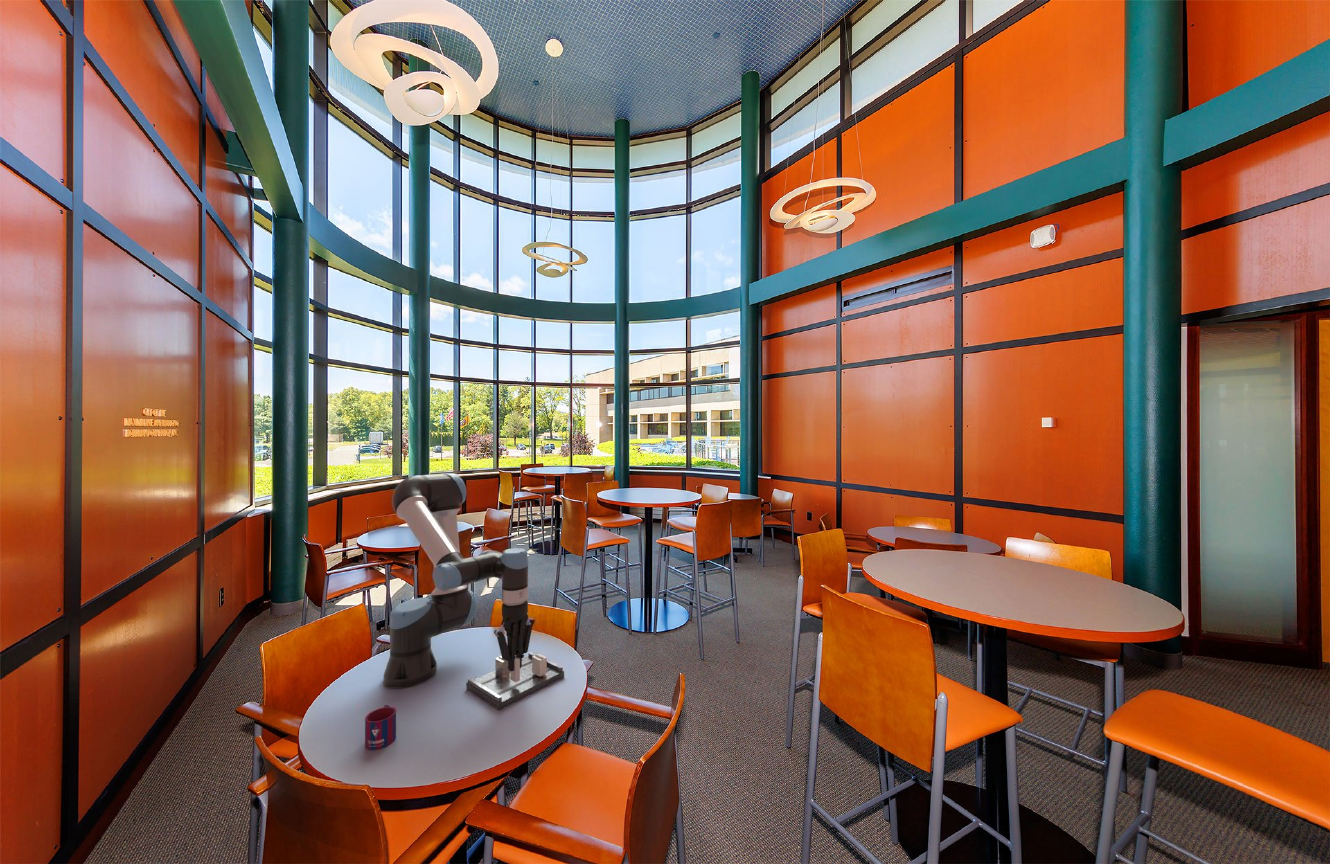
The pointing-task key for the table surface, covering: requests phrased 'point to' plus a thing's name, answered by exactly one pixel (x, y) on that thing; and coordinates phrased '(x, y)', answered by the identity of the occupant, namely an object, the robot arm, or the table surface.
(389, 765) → the table surface
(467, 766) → the table surface
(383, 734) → the mug
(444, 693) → the table surface
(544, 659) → the fader tab
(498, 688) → the console
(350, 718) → the table surface
